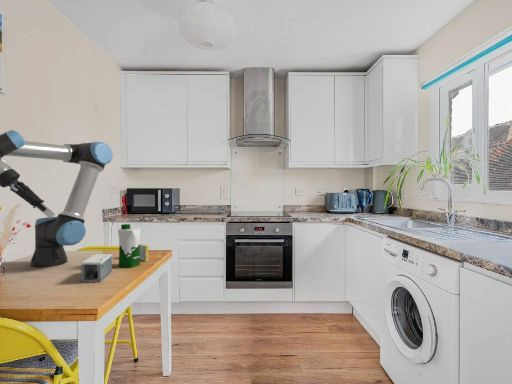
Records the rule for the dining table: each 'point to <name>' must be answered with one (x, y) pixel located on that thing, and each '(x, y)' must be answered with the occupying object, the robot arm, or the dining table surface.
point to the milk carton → (129, 246)
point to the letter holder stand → (95, 271)
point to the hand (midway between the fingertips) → (52, 215)
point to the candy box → (144, 252)
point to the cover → (97, 259)
